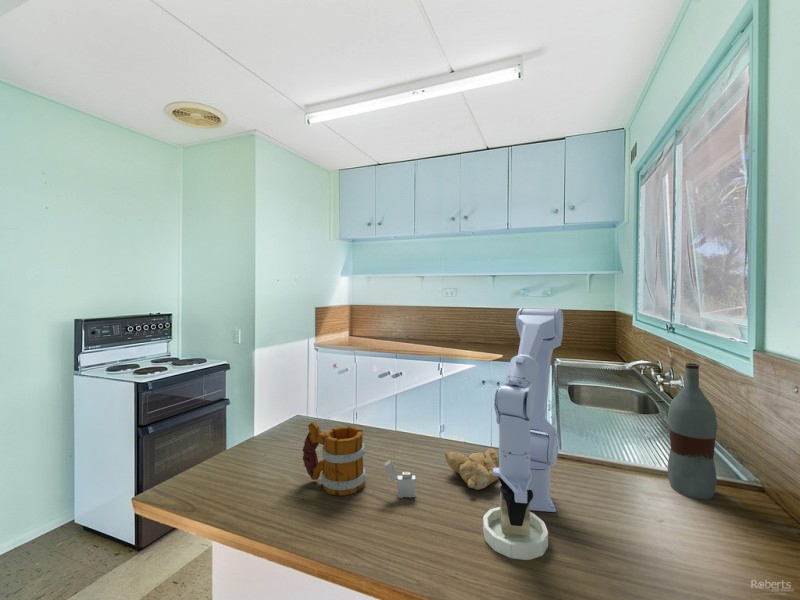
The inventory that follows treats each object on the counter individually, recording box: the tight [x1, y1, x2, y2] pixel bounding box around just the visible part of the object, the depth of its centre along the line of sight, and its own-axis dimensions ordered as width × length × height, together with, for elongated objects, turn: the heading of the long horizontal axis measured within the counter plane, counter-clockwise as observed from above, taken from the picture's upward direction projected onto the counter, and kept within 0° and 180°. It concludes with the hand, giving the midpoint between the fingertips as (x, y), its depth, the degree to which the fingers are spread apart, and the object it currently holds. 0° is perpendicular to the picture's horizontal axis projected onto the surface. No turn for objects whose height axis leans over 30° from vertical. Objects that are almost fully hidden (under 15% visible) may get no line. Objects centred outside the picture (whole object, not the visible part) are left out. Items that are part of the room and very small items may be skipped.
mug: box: [302, 421, 367, 497], centre depth 89 cm, size 11×16×15 cm, turn 78°
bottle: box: [667, 362, 718, 500], centre depth 85 cm, size 9×9×30 cm
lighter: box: [384, 460, 417, 499], centre depth 84 cm, size 7×2×8 cm, turn 91°
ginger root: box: [444, 447, 499, 491], centre depth 91 cm, size 16×16×8 cm
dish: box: [482, 506, 549, 561], centre depth 69 cm, size 12×12×2 cm
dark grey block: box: [499, 487, 531, 536], centre depth 69 cm, size 3×5×7 cm, turn 81°
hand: (514, 518), depth 69 cm, fingers closed on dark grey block, 3 cm apart
